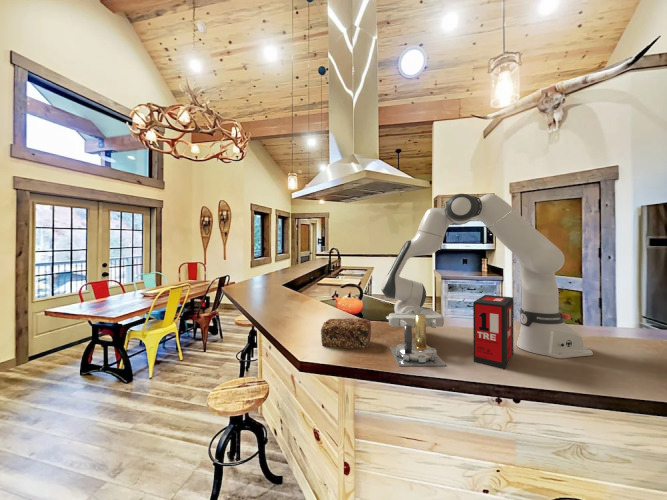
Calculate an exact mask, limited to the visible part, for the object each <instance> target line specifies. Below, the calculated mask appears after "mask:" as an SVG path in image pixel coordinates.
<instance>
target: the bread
mask: <svg viewBox="0 0 667 500" xmlns="http://www.w3.org/2000/svg"><path fill="white" fill-rule="evenodd" d="M320 334H321V336H320V337H321V338H320V339H321V345H322V346H323V347H329V348H342V349H355V350H356V349H360V350H362V349H368V348H369V346H370V345H371V337H372V324H371V321H370V320H369V319H367V318H359V317H358V318H346V317H345V318H329V319H328V320H326V321H324V322H323V323H322V326H321V330H320Z"/></svg>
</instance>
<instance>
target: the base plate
mask: <svg viewBox="0 0 667 500" xmlns="http://www.w3.org/2000/svg"><path fill="white" fill-rule="evenodd" d="M389 348H390V351H391V354H392V356H393V358H394V359H395V361H396V363H397V365H398V367H446V365H447V364H446V363H445V362H444V360H443V359H442V358H441V357H440V356H439V355H438V354H437V353H436V359H435V360H428V361H426V362H418V361H413V360H410V361H408V360H404V359H403V357H401V356H397V355H396V348H397V346H396V347H394V346H393V347H391V346H390V347H389Z"/></svg>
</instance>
